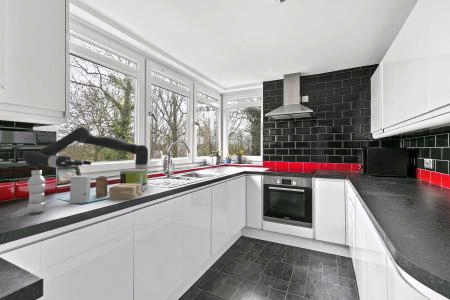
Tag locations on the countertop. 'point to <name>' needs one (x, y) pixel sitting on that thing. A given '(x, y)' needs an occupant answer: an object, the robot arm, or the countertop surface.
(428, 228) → the countertop surface
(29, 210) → the plastic bottle
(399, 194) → the countertop surface
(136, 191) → the plinth
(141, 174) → the tea box
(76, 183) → the skincare box
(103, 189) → the walnut block
